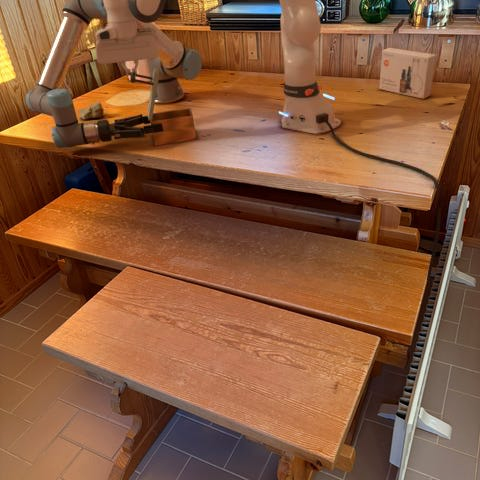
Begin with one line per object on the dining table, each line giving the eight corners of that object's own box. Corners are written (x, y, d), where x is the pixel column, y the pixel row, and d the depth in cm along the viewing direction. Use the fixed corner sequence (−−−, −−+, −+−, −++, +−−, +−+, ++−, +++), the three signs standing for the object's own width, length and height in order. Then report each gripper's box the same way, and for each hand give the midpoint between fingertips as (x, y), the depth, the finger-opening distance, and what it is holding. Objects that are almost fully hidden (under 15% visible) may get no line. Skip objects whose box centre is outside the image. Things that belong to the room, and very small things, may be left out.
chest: (193, 129, 174) (190, 107, 170) (196, 139, 167) (192, 115, 162) (154, 135, 173) (149, 113, 168) (155, 145, 165) (150, 122, 160)
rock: (80, 117, 200) (78, 121, 191) (76, 102, 197) (75, 105, 188) (105, 114, 202) (105, 117, 193) (102, 99, 199) (101, 102, 190)
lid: (157, 68, 160) (131, 63, 157) (159, 75, 152) (131, 69, 150) (150, 112, 168) (126, 107, 165) (151, 120, 160) (125, 115, 157)
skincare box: (377, 89, 194) (381, 50, 185) (385, 86, 197) (389, 47, 188) (423, 99, 180) (429, 56, 171) (430, 95, 183) (437, 53, 174)
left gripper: (103, 130, 174) (162, 122, 177) (99, 153, 156) (165, 143, 159) (98, 111, 170) (158, 102, 173) (93, 132, 152) (161, 122, 155)
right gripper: (155, 25, 151) (162, 68, 159) (92, 31, 149) (102, 75, 156) (156, 28, 146) (163, 73, 154) (90, 35, 143) (101, 80, 151)
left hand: (161, 122), depth 166 cm, fingers closed on chest, 9 cm apart
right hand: (132, 74), depth 155 cm, fingers closed, pressing on lid
